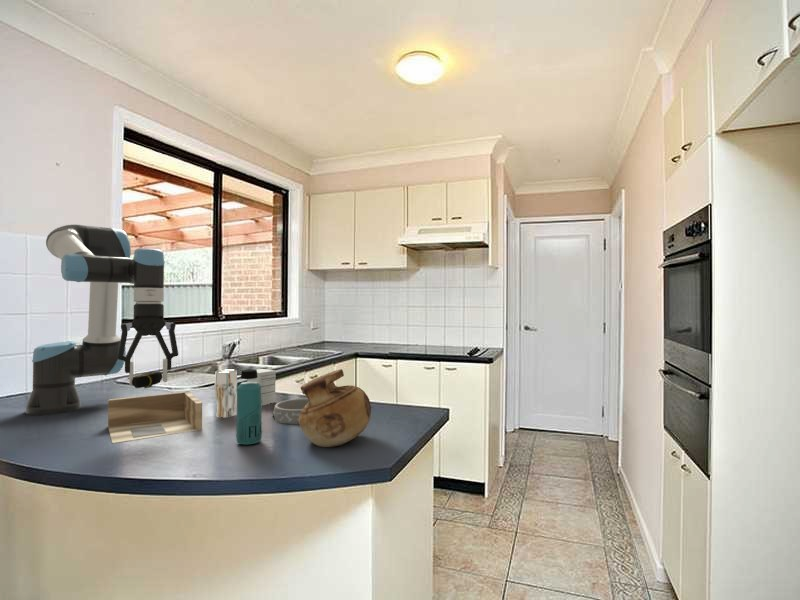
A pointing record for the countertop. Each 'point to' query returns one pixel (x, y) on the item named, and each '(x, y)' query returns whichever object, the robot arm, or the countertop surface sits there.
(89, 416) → the countertop surface
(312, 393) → the clay pot
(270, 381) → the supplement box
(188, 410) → the corner tray
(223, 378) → the white piece
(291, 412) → the dog bowl
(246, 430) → the beverage bottle
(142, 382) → the tape measure
